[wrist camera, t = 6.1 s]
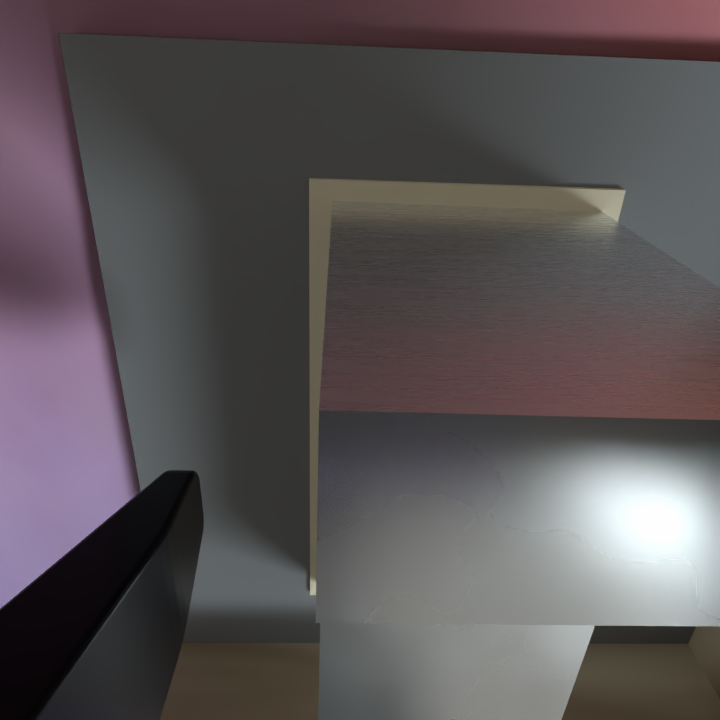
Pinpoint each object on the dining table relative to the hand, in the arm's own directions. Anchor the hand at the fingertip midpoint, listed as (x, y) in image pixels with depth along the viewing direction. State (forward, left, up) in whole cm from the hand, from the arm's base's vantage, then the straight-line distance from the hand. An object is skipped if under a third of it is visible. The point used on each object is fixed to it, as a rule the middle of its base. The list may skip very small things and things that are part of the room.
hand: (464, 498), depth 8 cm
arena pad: (-1, -1, -3) cm, 3 cm away
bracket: (0, 0, -2) cm, 2 cm away
